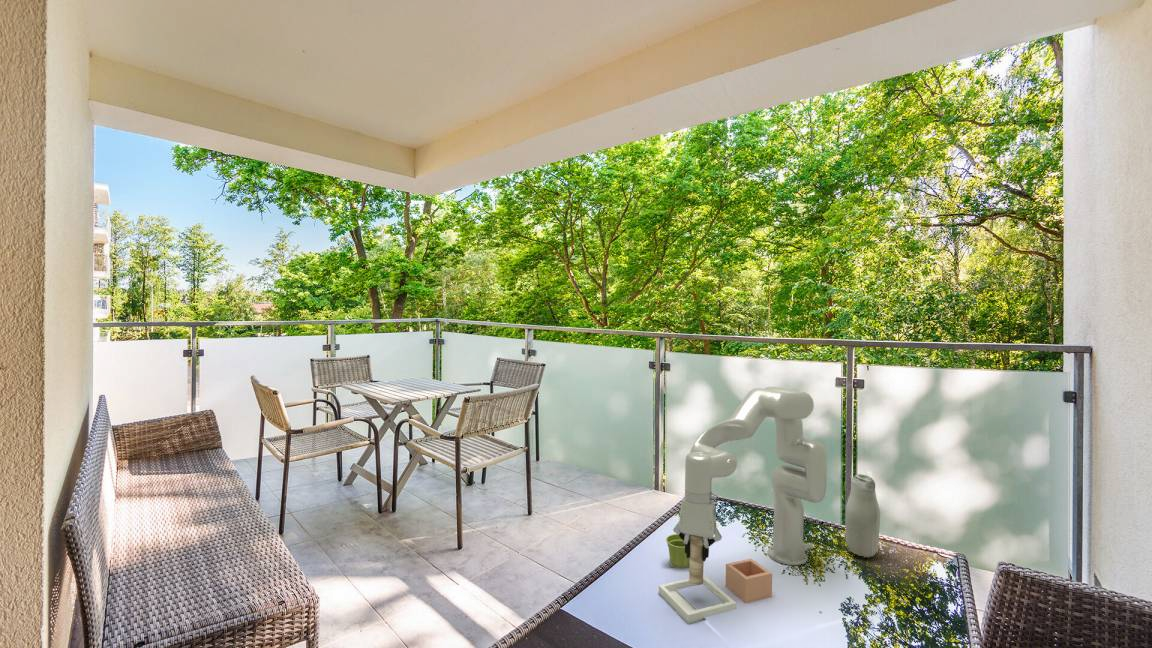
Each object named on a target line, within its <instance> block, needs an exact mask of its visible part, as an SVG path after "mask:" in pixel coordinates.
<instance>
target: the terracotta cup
mask: <svg viewBox="0 0 1152 648" xmlns="http://www.w3.org/2000/svg"><path fill="white" fill-rule="evenodd" d="M725 588H727V589H728V590H729V591H730V592H731V593H733V594H734V595H735V596H737V597H738V598H739V599H740V600H741V601H742V602H744V604H747V603H751V602H755V601H760V600H763V599H767V598H772V596H773V595H772V594H773V573H772V572H771V571H770V570H768V569H767V568H765V567H763V565H761V564H759V563H758V562H757V561H756V560H754V559H752V558H748V559H742V560H739V561H734V562H729V563H725Z"/></svg>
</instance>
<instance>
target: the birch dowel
mask: <svg viewBox="0 0 1152 648" xmlns="http://www.w3.org/2000/svg"><path fill="white" fill-rule="evenodd" d="M703 547H704V540H703V537H699V536H693V535H690V563H689V568H688V569H689V572H688V577H689V578H688V579H689V582H690V583H692V584H694V585H693V586H701V585H704V584H703V575H704V562H705V561H702V553H703Z"/></svg>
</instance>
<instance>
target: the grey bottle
mask: <svg viewBox="0 0 1152 648" xmlns="http://www.w3.org/2000/svg"><path fill="white" fill-rule="evenodd" d="M880 522H881V511H880V505H879V503H878V499H877V493H876V482H875V481H874V479H873V478H872V477H870V476H868V475H867V474H866V475H865V474H861V473H860V474H859V473H857V474H855V475H854V476H852V478H851V480H850V491H849V496H848V497H847V502H846V505H845V543H846V545H847V548H848V549H849V551H850V552H852V553H853V554H854V555H855V554H857V555H859V556H858V557H860V556H864V557H863V558H866V557H867V558H871V557H873V556H874V555H875V554H876V553H877V552H878V551H879V544H880V543H879V542H880V524H881V523H880ZM857 555H856V556H857ZM870 556H871V557H870Z"/></svg>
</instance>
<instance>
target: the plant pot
mask: <svg viewBox="0 0 1152 648" xmlns="http://www.w3.org/2000/svg"><path fill="white" fill-rule="evenodd" d="M665 541H666V543H667V547H668V553H669V554H668V555H669V562H670V566H671V567H673V568H680V569H681V568H682V569H683V568H687V567H688V566H689V563H690V557H689V558H687V553H685V544H684V541H683V540H682V539H681V538H680V536H679V535H678V534H676V533H673V534H670V535H668V536H667V537H666V538H665Z"/></svg>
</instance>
